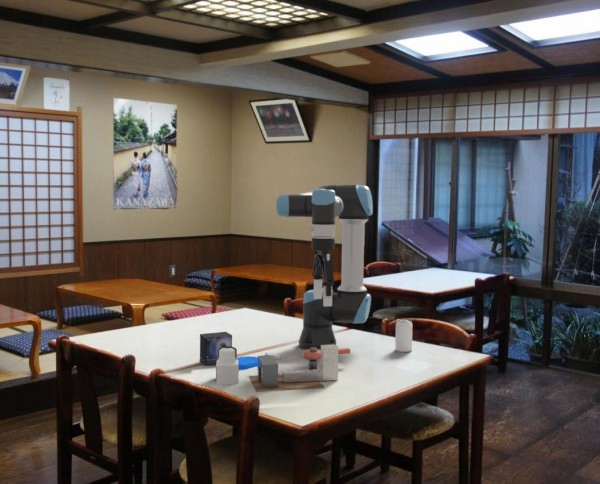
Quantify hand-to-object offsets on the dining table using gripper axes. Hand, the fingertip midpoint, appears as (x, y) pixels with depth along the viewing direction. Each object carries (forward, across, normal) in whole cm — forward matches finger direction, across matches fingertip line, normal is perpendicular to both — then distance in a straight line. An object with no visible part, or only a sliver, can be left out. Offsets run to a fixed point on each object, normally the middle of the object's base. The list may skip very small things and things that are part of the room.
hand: (322, 302), depth 223 cm
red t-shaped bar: (+21, -14, +5) cm, 26 cm away
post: (+27, -13, 0) cm, 30 cm away
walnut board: (+27, 0, -12) cm, 29 cm away
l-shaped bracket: (+26, 0, -4) cm, 26 cm away
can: (+27, -37, +42) cm, 62 cm away
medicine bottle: (+27, -5, -30) cm, 41 cm away
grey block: (+26, 0, -18) cm, 31 cm away
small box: (+27, -32, -32) cm, 53 cm away
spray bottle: (+27, -28, -18) cm, 43 cm away
